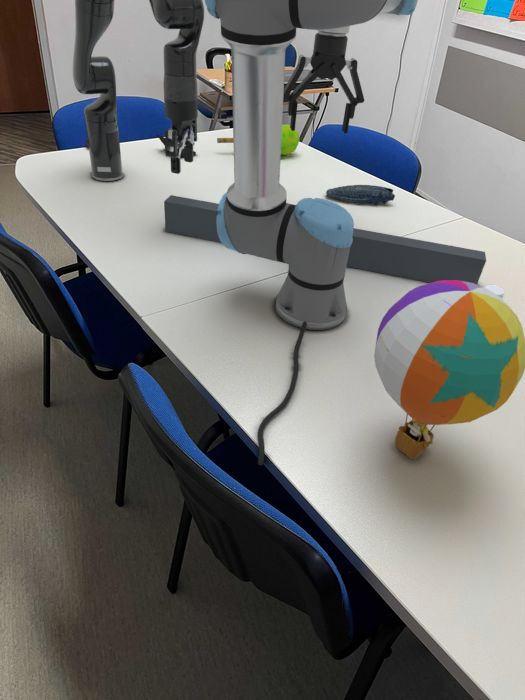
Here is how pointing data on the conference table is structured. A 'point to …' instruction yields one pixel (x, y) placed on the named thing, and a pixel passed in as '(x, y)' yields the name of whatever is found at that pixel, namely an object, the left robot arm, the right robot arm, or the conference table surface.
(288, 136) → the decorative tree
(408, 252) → the bar
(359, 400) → the conference table surface
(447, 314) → the toy
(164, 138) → the handheld gaming console
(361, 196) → the fish model
